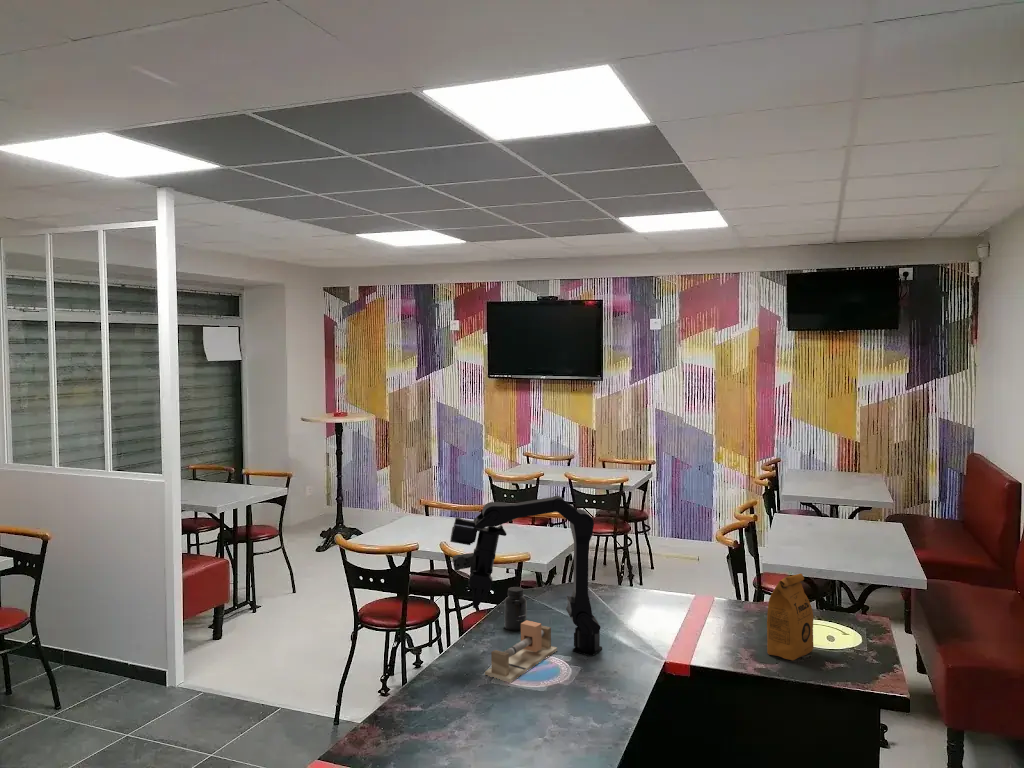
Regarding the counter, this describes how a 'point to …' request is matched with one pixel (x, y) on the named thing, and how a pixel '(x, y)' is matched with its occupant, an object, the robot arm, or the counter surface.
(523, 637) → the brown block with hole
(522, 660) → the pipe stand
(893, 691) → the counter surface
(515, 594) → the supplement bottle
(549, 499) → the robot arm
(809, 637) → the coffee package
